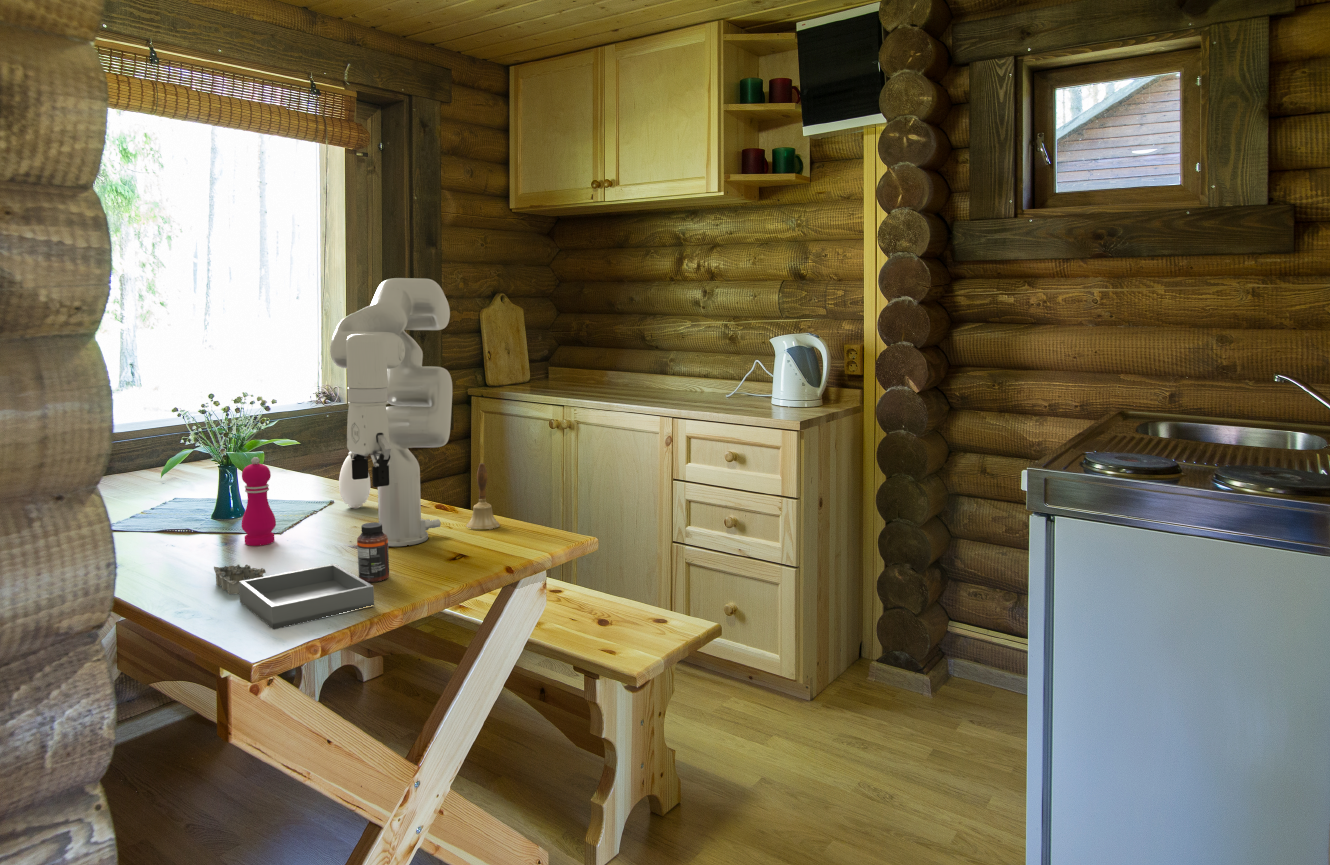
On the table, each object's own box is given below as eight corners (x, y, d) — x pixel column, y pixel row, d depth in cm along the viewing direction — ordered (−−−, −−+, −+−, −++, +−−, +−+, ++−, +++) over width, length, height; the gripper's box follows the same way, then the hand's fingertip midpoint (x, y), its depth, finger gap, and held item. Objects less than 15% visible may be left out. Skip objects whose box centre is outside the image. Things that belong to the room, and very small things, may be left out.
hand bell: (460, 525, 224) (459, 463, 222) (489, 520, 230) (488, 459, 227) (475, 532, 218) (474, 468, 216) (505, 527, 223) (505, 464, 221)
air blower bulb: (376, 507, 242) (374, 441, 240) (353, 512, 236) (350, 445, 233) (357, 503, 247) (355, 438, 244) (333, 508, 240) (331, 442, 237)
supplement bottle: (378, 572, 185) (376, 519, 183) (395, 578, 181) (393, 524, 180) (352, 579, 180) (350, 524, 179) (369, 585, 177) (367, 529, 175)
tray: (336, 583, 178) (335, 563, 177) (374, 606, 164) (373, 586, 164) (240, 602, 166) (239, 581, 165) (272, 629, 153) (271, 607, 152)
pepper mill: (263, 547, 202) (259, 460, 199) (235, 545, 203) (230, 459, 200) (283, 539, 209) (279, 455, 206) (255, 537, 210) (251, 453, 207)
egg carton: (268, 590, 174) (267, 570, 173) (227, 598, 169) (225, 577, 168) (253, 576, 182) (252, 557, 181) (212, 583, 177) (211, 563, 176)
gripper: (332, 394, 179) (334, 478, 182) (367, 401, 167) (370, 491, 169) (368, 392, 184) (370, 474, 187) (405, 399, 171) (407, 486, 174)
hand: (370, 482), depth 178 cm, fingers open, 9 cm apart
